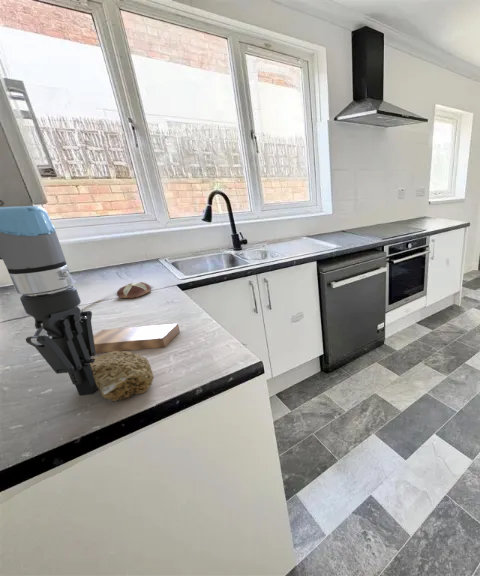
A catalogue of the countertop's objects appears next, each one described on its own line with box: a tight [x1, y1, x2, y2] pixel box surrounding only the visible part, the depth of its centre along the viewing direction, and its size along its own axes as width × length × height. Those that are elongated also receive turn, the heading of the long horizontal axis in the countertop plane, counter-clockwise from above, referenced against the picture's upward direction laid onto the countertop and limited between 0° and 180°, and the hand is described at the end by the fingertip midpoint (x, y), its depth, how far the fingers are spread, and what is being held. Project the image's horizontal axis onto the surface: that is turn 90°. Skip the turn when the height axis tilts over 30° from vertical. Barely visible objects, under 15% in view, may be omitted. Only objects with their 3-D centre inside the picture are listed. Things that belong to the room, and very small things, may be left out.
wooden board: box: [88, 323, 181, 354], centre depth 95 cm, size 22×10×3 cm, turn 100°
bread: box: [116, 281, 152, 299], centre depth 135 cm, size 11×11×5 cm
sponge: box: [90, 350, 154, 402], centre depth 75 cm, size 13×8×20 cm
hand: (89, 392), depth 66 cm, fingers closed
